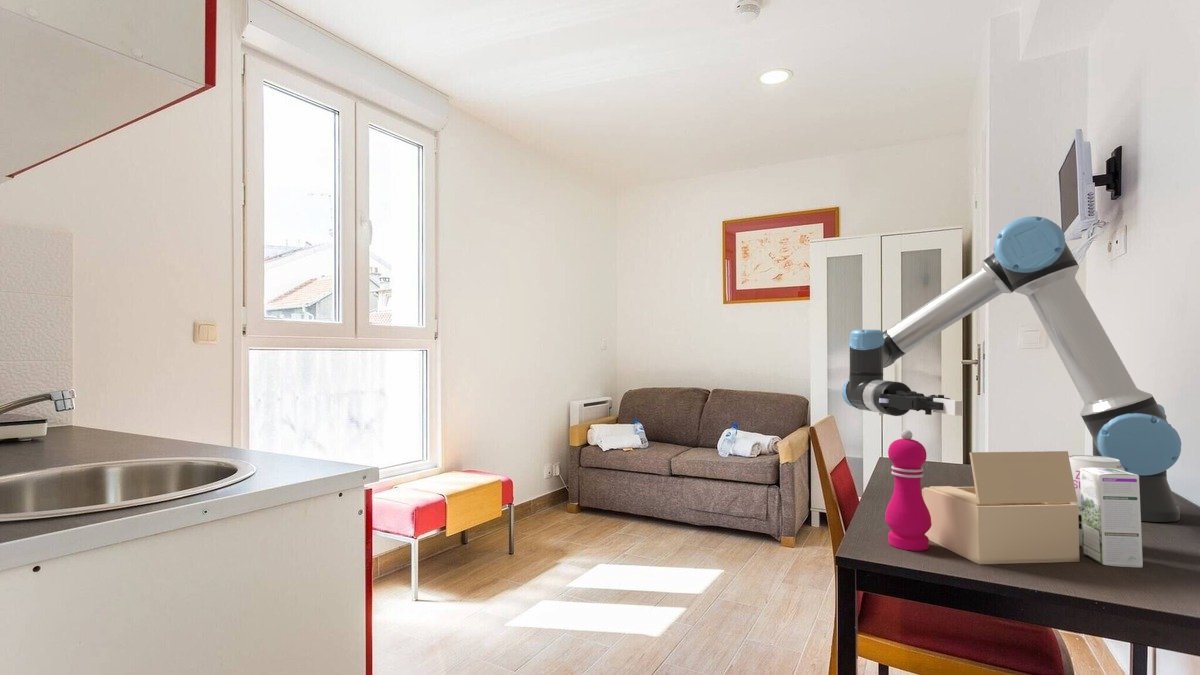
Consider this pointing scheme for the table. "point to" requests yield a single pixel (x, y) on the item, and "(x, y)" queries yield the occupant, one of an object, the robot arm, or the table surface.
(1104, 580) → the table surface
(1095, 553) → the syrup box
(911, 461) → the pepper mill
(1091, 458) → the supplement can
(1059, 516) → the carton
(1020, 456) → the long flap
